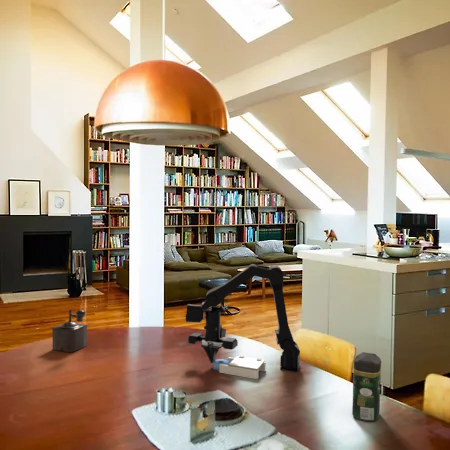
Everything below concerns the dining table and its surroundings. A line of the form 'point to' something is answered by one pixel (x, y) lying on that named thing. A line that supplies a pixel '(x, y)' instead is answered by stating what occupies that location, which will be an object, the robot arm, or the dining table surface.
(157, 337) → the dining table surface
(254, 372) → the white channel bracket
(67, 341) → the manual coffee grinder
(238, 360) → the cover
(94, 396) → the dining table surface
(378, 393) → the coffee jar
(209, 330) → the robot arm
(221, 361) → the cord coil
